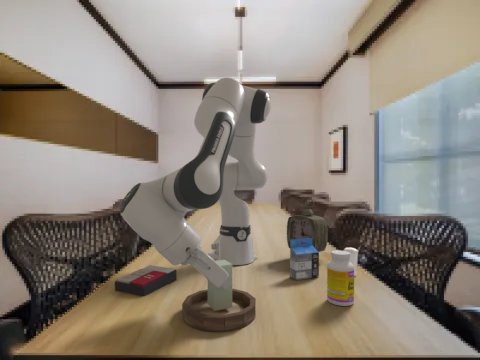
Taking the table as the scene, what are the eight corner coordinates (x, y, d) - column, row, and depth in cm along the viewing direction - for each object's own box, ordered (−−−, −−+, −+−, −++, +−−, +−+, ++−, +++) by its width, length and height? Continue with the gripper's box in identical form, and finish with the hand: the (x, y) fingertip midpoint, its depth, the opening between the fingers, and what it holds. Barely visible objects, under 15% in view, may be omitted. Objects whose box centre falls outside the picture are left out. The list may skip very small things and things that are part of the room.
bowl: (175, 306, 73) (175, 294, 73) (237, 295, 80) (237, 284, 80) (195, 339, 58) (195, 324, 58) (269, 321, 65) (269, 308, 65)
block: (207, 303, 70) (207, 261, 70) (224, 300, 72) (224, 259, 72) (214, 311, 66) (214, 266, 66) (232, 307, 68) (232, 264, 68)
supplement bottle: (351, 309, 72) (351, 256, 72) (324, 303, 75) (324, 253, 75) (356, 300, 77) (356, 251, 77) (331, 295, 81) (330, 248, 81)
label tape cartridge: (296, 280, 92) (296, 241, 93) (289, 277, 96) (289, 239, 96) (319, 277, 96) (319, 239, 96) (312, 274, 99) (312, 237, 100)
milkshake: (362, 277, 96) (361, 246, 96) (344, 276, 97) (344, 246, 97) (359, 273, 100) (359, 244, 100) (342, 272, 101) (342, 243, 101)
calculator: (113, 279, 84) (149, 263, 98) (114, 293, 84) (150, 275, 98) (143, 284, 80) (176, 267, 93) (143, 300, 80) (177, 280, 93)
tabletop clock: (286, 257, 121) (286, 197, 121) (301, 254, 126) (301, 196, 126) (315, 265, 109) (315, 198, 110) (330, 261, 115) (329, 198, 115)
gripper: (206, 242, 57) (250, 285, 61) (180, 227, 75) (215, 261, 80) (183, 268, 55) (231, 310, 59) (162, 246, 73) (200, 280, 78)
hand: (222, 282), depth 69 cm, fingers closed on block, 4 cm apart
